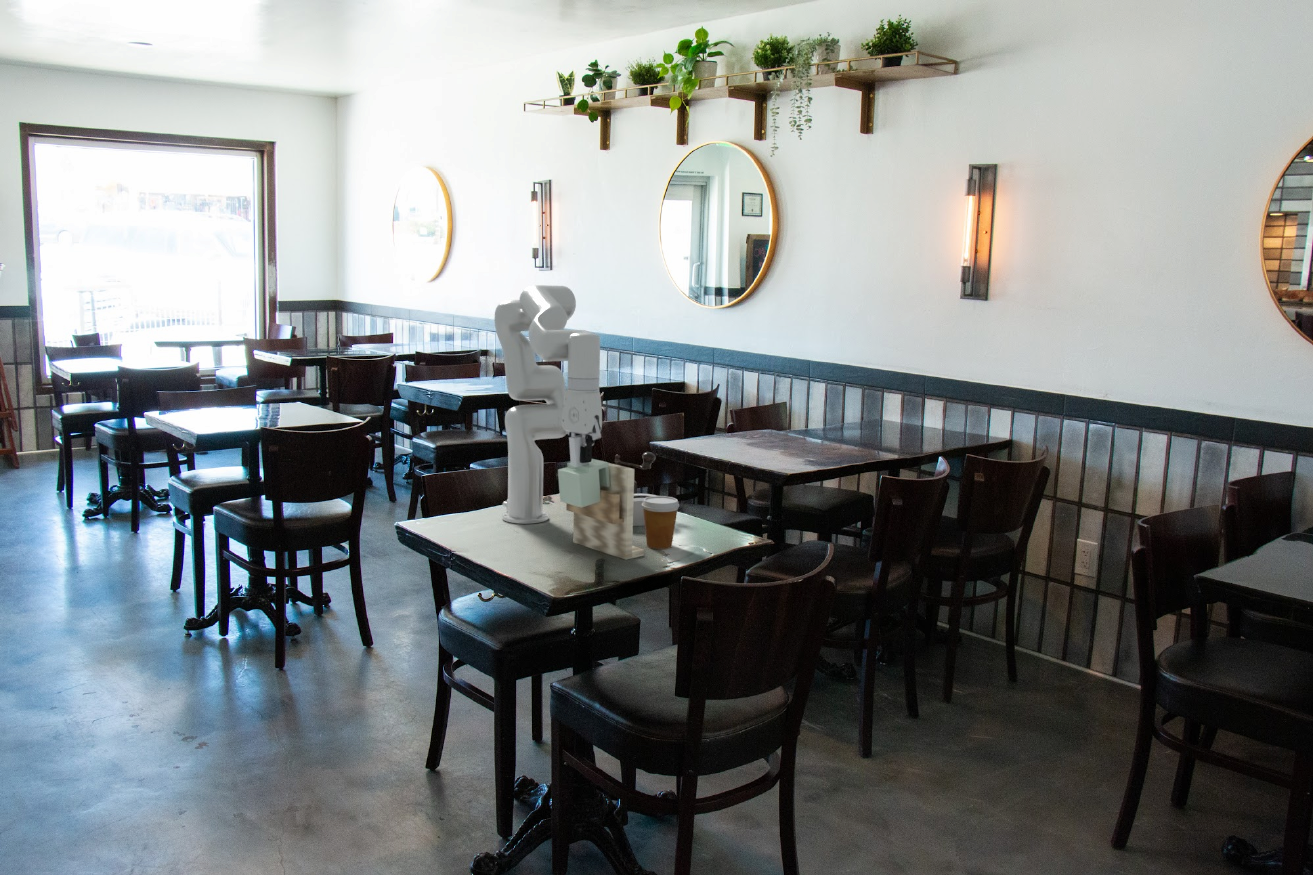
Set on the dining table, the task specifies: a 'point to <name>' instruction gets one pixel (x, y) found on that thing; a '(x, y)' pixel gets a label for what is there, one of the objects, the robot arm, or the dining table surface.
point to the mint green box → (582, 477)
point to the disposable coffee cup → (660, 520)
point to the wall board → (609, 517)
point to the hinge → (639, 509)
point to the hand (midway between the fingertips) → (582, 460)
